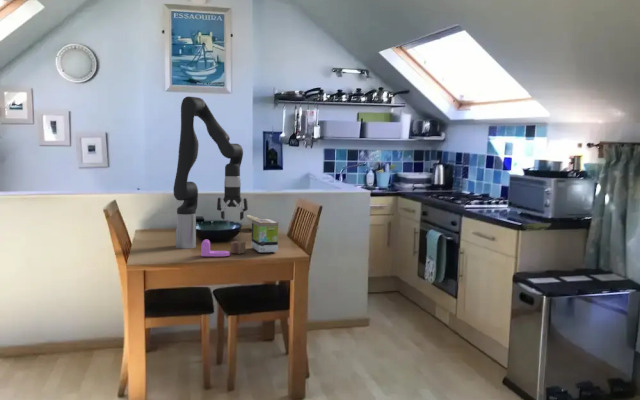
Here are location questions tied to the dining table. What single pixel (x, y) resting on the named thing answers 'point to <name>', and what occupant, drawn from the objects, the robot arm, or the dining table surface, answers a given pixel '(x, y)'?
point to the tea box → (264, 235)
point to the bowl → (251, 220)
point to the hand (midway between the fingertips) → (232, 219)
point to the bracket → (206, 251)
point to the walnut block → (238, 247)
